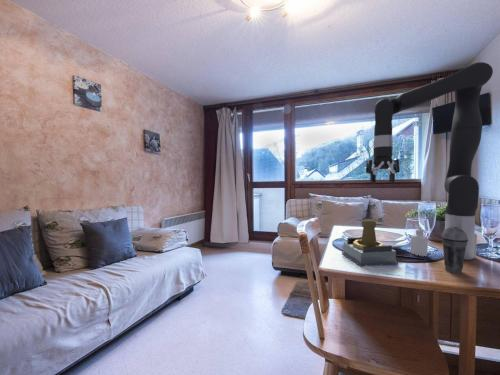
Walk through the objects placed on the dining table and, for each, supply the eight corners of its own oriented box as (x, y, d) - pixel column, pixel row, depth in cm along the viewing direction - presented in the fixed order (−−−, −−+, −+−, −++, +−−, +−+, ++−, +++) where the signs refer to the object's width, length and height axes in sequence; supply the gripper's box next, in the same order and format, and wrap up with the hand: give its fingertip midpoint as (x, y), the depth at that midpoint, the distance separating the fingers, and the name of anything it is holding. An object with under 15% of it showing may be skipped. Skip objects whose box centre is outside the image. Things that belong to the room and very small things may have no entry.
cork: (379, 249, 97) (379, 221, 96) (362, 248, 98) (362, 221, 98) (374, 244, 103) (374, 218, 102) (359, 243, 104) (359, 218, 103)
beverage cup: (472, 273, 84) (474, 215, 83) (457, 276, 82) (459, 217, 81) (450, 265, 91) (451, 212, 90) (435, 268, 89) (436, 213, 88)
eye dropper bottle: (417, 252, 107) (418, 224, 106) (429, 256, 101) (430, 227, 101) (409, 252, 106) (409, 225, 106) (419, 257, 101) (420, 228, 100)
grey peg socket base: (374, 251, 109) (374, 235, 109) (397, 264, 94) (398, 246, 94) (341, 253, 108) (341, 237, 107) (360, 266, 93) (360, 248, 92)
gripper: (392, 146, 114) (391, 182, 115) (363, 147, 113) (362, 182, 114) (404, 145, 107) (403, 182, 108) (372, 145, 106) (372, 183, 107)
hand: (382, 182), depth 111 cm, fingers open, 8 cm apart
